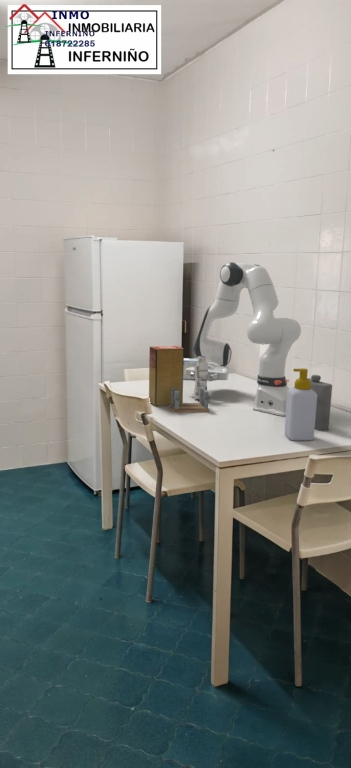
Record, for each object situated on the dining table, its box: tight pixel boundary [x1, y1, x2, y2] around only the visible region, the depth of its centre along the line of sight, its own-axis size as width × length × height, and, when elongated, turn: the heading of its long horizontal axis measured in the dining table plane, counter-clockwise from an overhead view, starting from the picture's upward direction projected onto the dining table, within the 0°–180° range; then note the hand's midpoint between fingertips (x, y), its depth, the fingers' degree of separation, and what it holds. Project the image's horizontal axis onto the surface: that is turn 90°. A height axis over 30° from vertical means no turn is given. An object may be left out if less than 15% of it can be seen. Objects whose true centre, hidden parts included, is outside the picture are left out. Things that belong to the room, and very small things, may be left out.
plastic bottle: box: [193, 356, 209, 400], centre depth 259 cm, size 6×7×20 cm
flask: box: [307, 374, 333, 432], centre depth 220 cm, size 15×6×20 cm, turn 25°
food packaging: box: [148, 345, 185, 407], centre depth 250 cm, size 13×9×25 cm
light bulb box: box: [183, 357, 198, 380], centre depth 310 cm, size 11×7×11 cm, turn 84°
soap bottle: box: [284, 368, 317, 442], centre depth 204 cm, size 9×9×25 cm
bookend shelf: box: [169, 387, 210, 413], centre depth 242 cm, size 10×14×8 cm
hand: (201, 376), depth 259 cm, fingers open, 8 cm apart
